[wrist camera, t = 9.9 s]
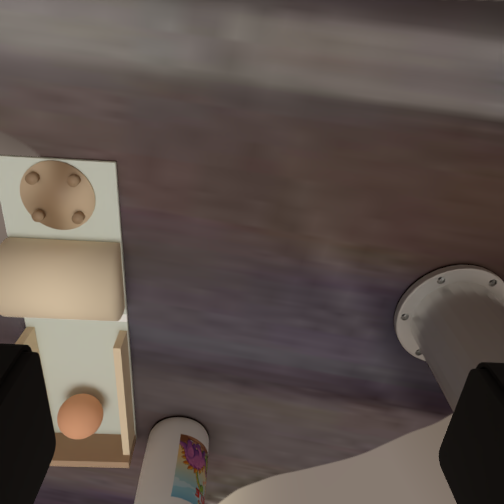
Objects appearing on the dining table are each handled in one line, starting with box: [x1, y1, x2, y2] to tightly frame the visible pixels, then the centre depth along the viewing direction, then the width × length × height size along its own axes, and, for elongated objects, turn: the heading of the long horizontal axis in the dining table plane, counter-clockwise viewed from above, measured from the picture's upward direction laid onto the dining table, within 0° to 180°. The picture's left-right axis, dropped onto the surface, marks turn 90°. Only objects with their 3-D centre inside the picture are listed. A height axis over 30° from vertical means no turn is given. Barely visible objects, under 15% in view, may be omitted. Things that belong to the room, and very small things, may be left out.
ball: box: [57, 393, 103, 439], centre depth 52 cm, size 5×5×5 cm
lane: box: [0, 155, 137, 468], centre depth 48 cm, size 11×36×8 cm, turn 176°
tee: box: [20, 160, 96, 230], centre depth 42 cm, size 7×7×1 cm
